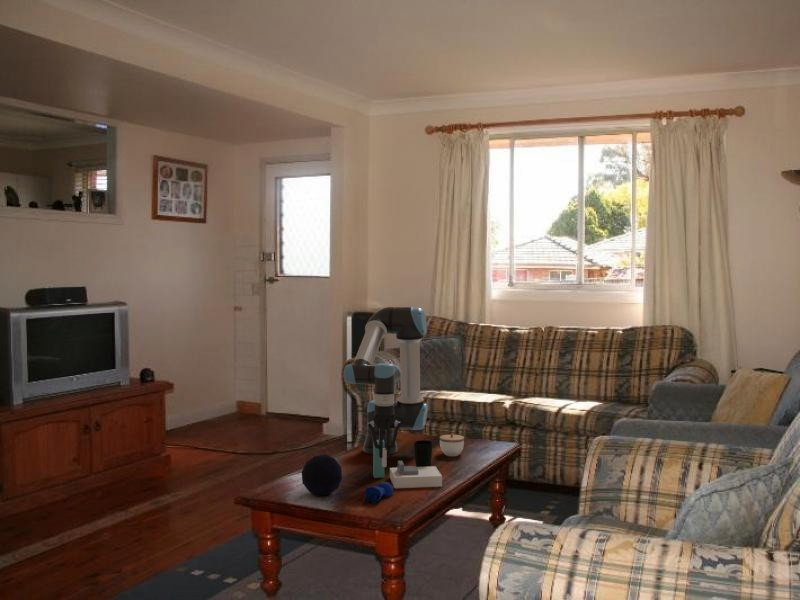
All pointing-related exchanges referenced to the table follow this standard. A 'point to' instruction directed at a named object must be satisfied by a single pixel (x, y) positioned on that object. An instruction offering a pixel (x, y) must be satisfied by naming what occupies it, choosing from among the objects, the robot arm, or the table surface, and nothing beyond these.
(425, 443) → the cup
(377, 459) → the plug
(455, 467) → the table surface
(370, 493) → the toy
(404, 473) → the plate
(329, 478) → the decorative orb
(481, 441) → the table surface
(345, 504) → the table surface
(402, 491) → the table surface
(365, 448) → the robot arm
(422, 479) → the socket box
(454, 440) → the lidded jar
